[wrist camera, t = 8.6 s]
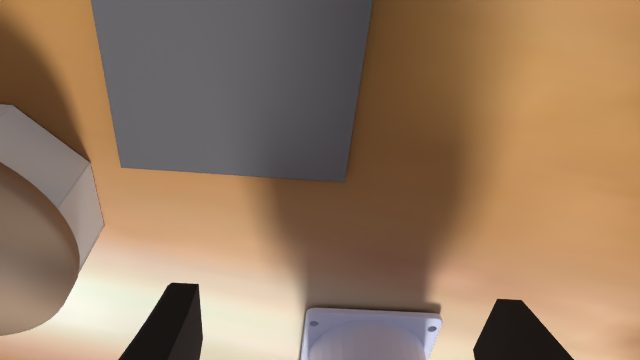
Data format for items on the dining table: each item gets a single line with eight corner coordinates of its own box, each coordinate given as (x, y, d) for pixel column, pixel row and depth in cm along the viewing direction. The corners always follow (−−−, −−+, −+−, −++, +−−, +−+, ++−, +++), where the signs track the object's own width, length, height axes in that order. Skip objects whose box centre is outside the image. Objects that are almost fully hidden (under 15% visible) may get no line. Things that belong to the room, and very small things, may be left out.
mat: (344, 177, 22) (344, 182, 21) (124, 162, 21) (120, 167, 21) (380, -61, 16) (382, -59, 16) (79, -93, 15) (74, -92, 15)
